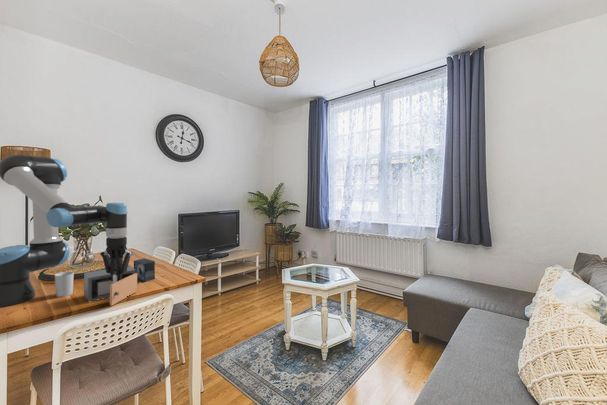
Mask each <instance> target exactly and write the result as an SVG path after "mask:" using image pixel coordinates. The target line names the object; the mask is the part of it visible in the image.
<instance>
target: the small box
mask: <svg viewBox="0 0 607 405" xmlns="http://www.w3.org/2000/svg"><path fill="white" fill-rule="evenodd" d="M155 265H156V262H155V260H151V259H148V258H145V257H143V258H139V259H135V260H133V269H135V273H137V281H139V282H142V283H146V282H150V281H153V280H155V278H156V270H155V268H156V267H155Z"/></svg>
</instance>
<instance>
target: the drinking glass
mask: <svg viewBox="0 0 607 405" xmlns="http://www.w3.org/2000/svg"><path fill="white" fill-rule="evenodd" d="M74 274H75V272H74V271H70V270H69V271H62V272H58V273H55V274H54V285H55V286H54V287H55V288H54V289H55V297H57V298H63V297H67V296H70V295H73V294H74V292H73V291H74Z"/></svg>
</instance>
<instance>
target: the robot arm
mask: <svg viewBox="0 0 607 405" xmlns="http://www.w3.org/2000/svg"><path fill="white" fill-rule="evenodd" d="M67 177H68V170H67V167H66V165H65V163H63V161H61V160H59V159H57V158H52V157H45V156H35V155H28V154H26V155H25V154H12V155H9V156H6V157H4V158H3V159H1V160H0V178H1V180H2V181H3V182H5V183H6V184H7V185H9V186H14V187H15V188H16V189H18V190H19V191H20V192H21V193H22V194H23V195H25V197H27V198H28V199H30V200H31V201H32V226H33V238H32V240H30V241H29V242H28V243H29V245H27V244H16V245H10V246H5V247H1V248H0V308H2V307H10V306H14V305H17V304H20V303H24V302H27V301H30V300H32V299H33V298H35V296H36V290H35V288H34V286H33V284H32V282H31V280H30V273H33V272H36V271H40V270H45V269H51V268H55V267H57V266H61V265H63V264H65V263H66V261H67V260H68V259H69V257H70V253H71V250H70V246H69V245H68V243H67V242H65V241H64V239H63V238H62V237H60V236H59V227H60V228H65V227H66V228H67V227H73V226H82V225H90V224H91V225H93V224H97V223H98V224H105V225H106V226H105V229H106V231H105V232H106V233H105V234H106V235H105V236H106V238H105V241H106V242H105V245H106V247H105V250H104V251H102V252H100V256H101V257H102V260H103V264H104V268H105V269H106V272H107V273H110V274H111V281H113V283H115V282H117V281H120V280H122V273H124V272H126V271H127V268H128V266H129V262H130V261H131V260H130V259H131V256H132V255H133V251H129V250H128V247H127V244H128V243H127V242H128V241H127V239H128V238H127V235H128V230H127V229H128V227H127V226H128V225H127V222H128V221H127V220H128V210H127V209H128V208H127V204H126V203H124V202H108V203H106V206H100V205H99V206H98V205H90V206H89V205H88V206H81V207H80V206H79V207H74V206H72V205H71V204H70V203H69V202H67V201H66V200H65V199H64V198H62V197H61V196H60V195H59V194H58V188H60V187H61V186H62V183H63V182H65V180H66V178H67Z"/></svg>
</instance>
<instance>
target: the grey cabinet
mask: <svg viewBox="0 0 607 405" xmlns="http://www.w3.org/2000/svg"><path fill="white" fill-rule="evenodd" d="M132 274H135V269H134V267H132V266H131V265H128V268H127V271H126V272H124V273H122V279H124V278H126V277H128V276H130V275H132ZM83 277H84V278H83V280H84V282H83V284H84V285H83V291H84V292H83V293H84V294H83V295H84V298H85V297H86V298H85V300H86V299H87V300H88V301H87V300H86V301H87V303H90V302H89V301H93V300H97V299H101V300H103V299H102V298H106V297H110V285H111V284H113V281H111V274H110V273H107V272H106V269H100V270H93V271H87V272H84V274H83ZM106 299H107V298H106ZM97 301H98V300H97ZM93 302H94V301H93Z"/></svg>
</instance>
